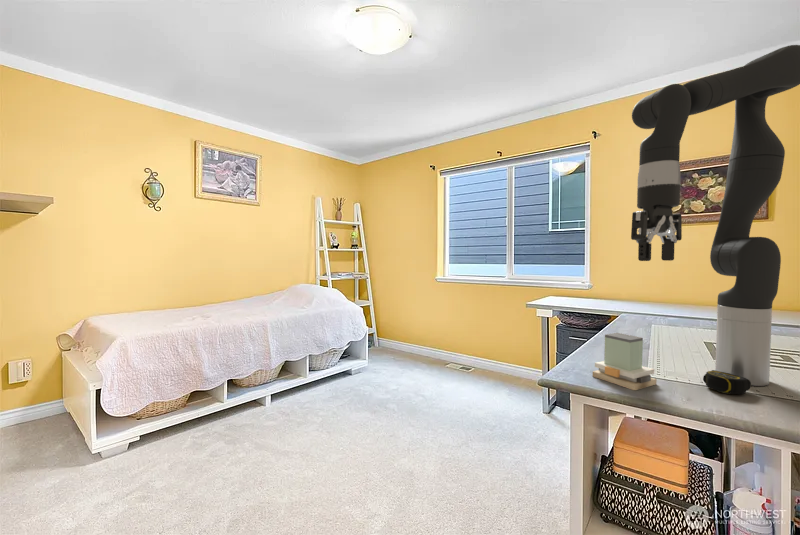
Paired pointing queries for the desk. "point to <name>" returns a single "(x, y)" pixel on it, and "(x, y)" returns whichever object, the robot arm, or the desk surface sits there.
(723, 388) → the tape measure
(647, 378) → the rail stand
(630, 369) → the block
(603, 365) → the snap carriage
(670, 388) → the desk surface
